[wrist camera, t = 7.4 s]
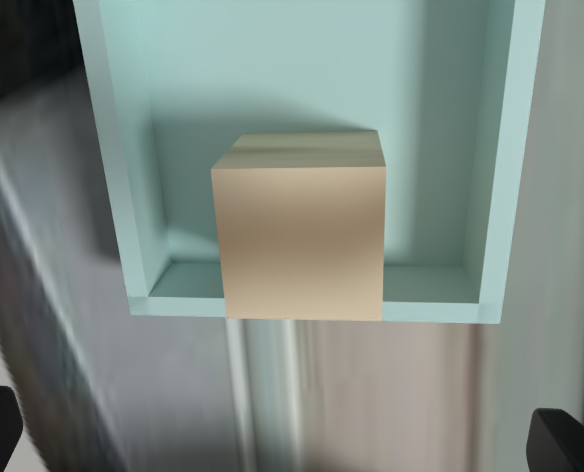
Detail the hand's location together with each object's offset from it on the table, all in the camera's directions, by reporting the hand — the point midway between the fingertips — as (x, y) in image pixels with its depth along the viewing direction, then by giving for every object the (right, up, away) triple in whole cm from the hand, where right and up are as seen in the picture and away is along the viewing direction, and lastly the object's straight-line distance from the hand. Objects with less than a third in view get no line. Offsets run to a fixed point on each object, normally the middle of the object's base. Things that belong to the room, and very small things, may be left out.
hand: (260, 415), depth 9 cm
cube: (+1, +5, +11) cm, 12 cm away
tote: (+1, +9, +10) cm, 13 cm away
